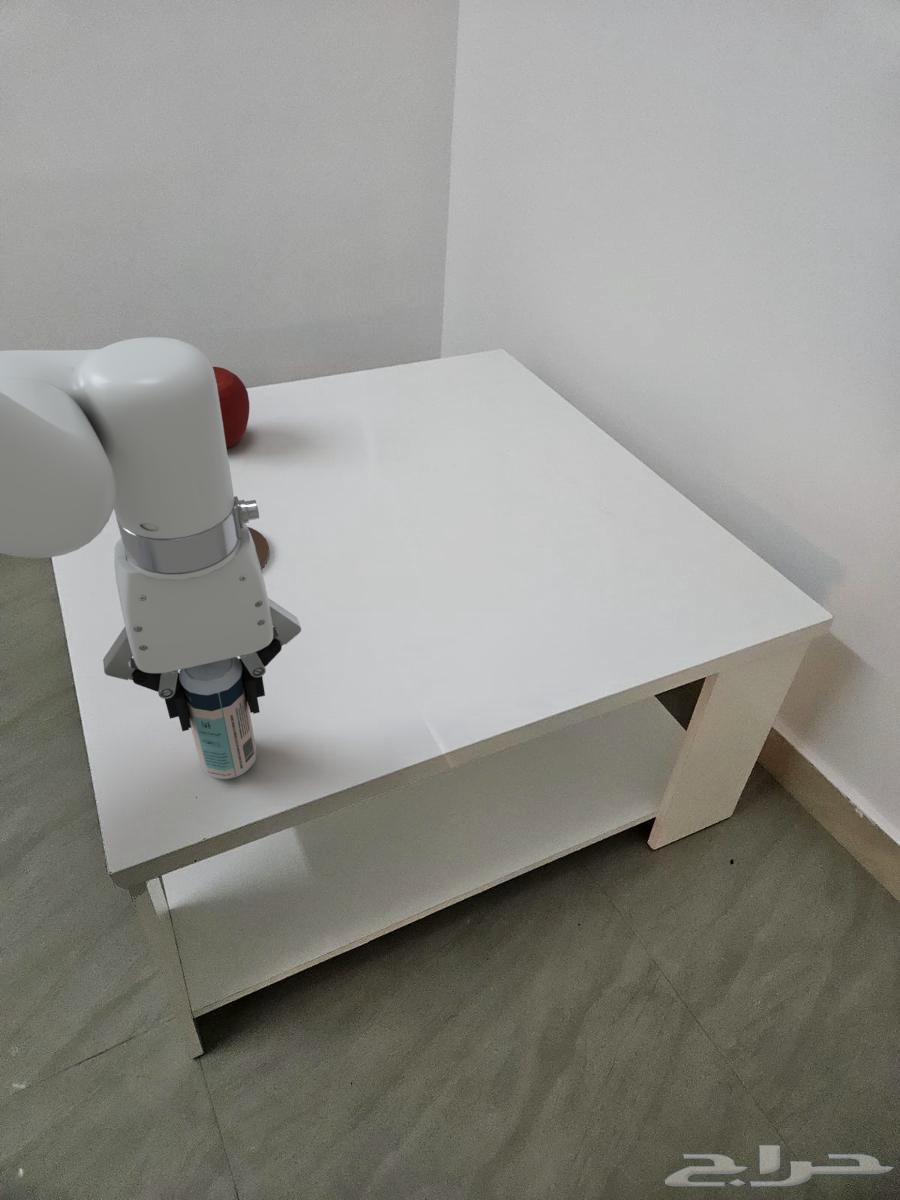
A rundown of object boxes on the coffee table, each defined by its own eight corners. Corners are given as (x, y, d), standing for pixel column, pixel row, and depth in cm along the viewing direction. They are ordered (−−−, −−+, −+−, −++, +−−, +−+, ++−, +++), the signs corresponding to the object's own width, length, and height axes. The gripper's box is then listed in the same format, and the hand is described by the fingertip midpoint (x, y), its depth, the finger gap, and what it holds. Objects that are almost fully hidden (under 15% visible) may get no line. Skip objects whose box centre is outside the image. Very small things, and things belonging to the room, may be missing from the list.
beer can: (249, 731, 73) (232, 635, 66) (263, 771, 70) (247, 674, 62) (195, 748, 72) (171, 651, 64) (207, 790, 69) (183, 692, 61)
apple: (179, 462, 107) (165, 392, 100) (185, 426, 114) (173, 358, 107) (253, 459, 108) (244, 389, 101) (255, 423, 115) (246, 356, 108)
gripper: (292, 479, 60) (309, 655, 72) (42, 520, 55) (105, 702, 67) (318, 537, 55) (332, 716, 67) (45, 588, 50) (112, 773, 61)
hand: (218, 707), depth 67 cm, fingers closed on beer can, 4 cm apart
